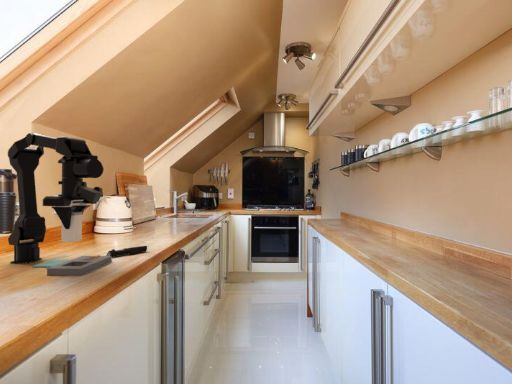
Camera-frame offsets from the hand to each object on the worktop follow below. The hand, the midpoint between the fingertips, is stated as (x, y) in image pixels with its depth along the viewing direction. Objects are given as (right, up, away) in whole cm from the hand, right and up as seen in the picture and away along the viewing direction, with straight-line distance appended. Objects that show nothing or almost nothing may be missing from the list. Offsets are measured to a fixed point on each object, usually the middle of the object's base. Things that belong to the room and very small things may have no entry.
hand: (71, 228), depth 98 cm
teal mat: (-8, -13, +6) cm, 16 cm away
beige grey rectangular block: (0, -4, 0) cm, 4 cm away
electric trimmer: (+8, -13, +22) cm, 27 cm away
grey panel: (+3, -13, +1) cm, 13 cm away
